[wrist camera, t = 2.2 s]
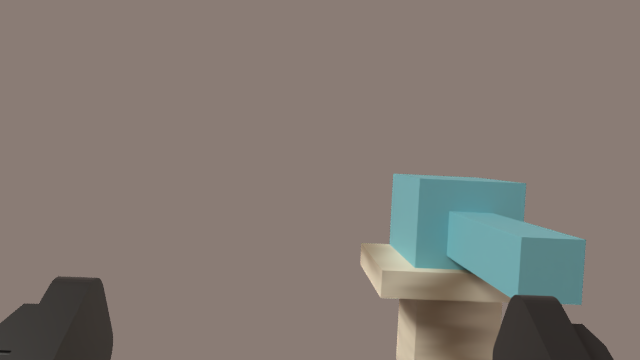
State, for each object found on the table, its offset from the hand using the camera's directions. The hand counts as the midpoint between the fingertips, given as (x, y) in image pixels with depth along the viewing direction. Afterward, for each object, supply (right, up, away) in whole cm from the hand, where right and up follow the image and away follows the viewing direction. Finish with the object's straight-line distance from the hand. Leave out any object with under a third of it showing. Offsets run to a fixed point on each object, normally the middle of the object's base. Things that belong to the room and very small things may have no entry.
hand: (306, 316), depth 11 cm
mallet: (+9, -2, +19) cm, 21 cm away
